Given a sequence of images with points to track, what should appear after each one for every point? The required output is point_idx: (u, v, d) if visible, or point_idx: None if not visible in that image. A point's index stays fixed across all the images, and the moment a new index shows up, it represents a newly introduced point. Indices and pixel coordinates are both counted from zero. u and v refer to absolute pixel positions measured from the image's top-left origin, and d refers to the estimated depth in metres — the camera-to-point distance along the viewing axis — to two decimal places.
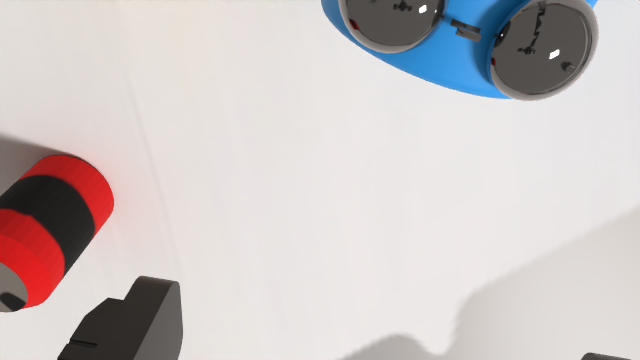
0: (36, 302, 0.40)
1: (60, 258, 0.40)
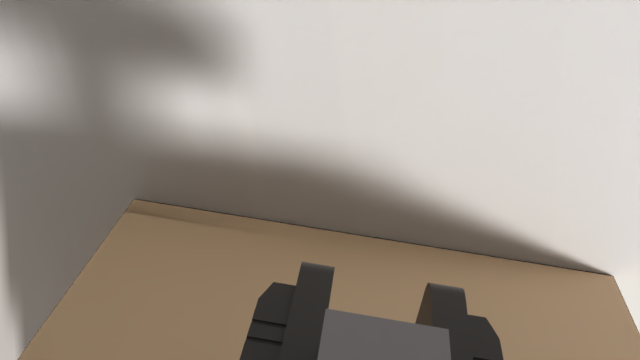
0: None
1: None
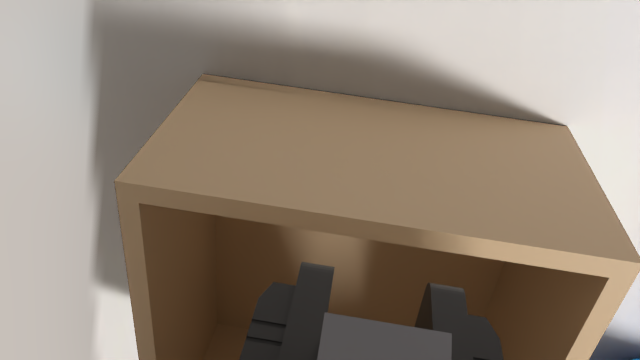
0: None
1: None
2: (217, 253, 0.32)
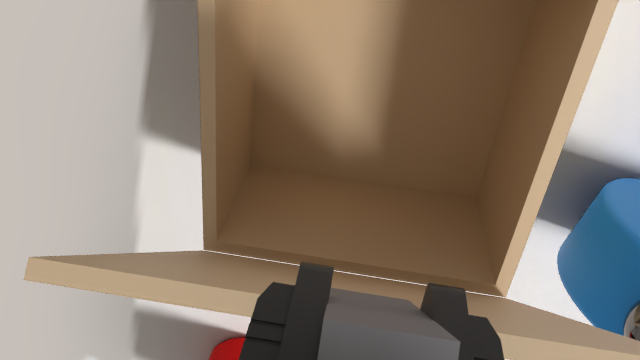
0: None
1: None
2: (256, 86, 0.36)
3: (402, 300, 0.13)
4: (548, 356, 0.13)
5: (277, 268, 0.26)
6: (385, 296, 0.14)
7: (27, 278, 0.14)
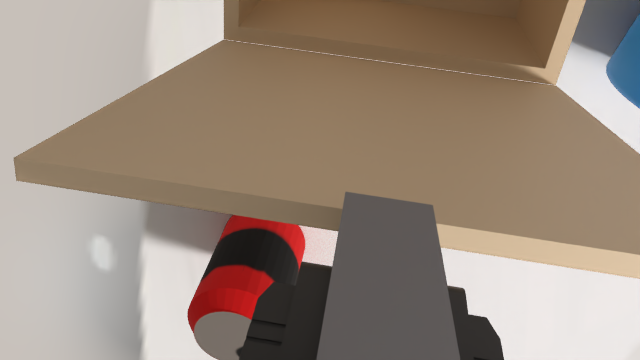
0: None
1: None
2: None
3: (425, 212, 0.12)
4: (583, 261, 0.12)
5: (301, 77, 0.24)
6: (406, 202, 0.12)
7: (19, 178, 0.13)
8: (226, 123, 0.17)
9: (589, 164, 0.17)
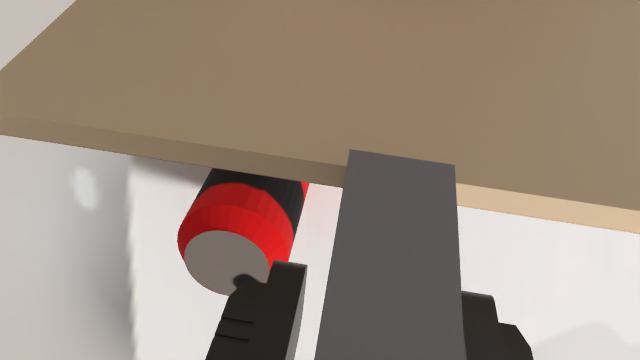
0: None
1: (292, 237, 0.37)
2: None
3: (444, 179, 0.10)
4: (629, 225, 0.10)
5: None
6: (423, 162, 0.10)
7: None
8: (214, 25, 0.14)
9: None
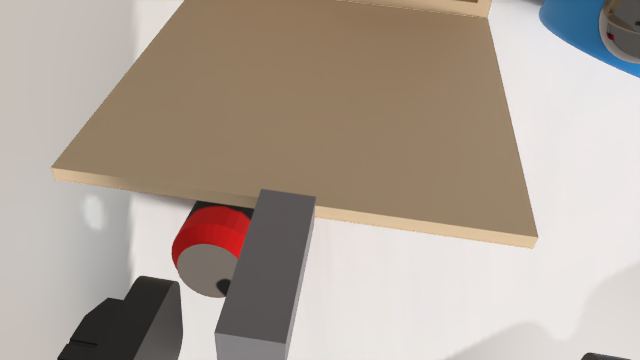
0: None
1: None
2: None
3: (308, 204, 0.19)
4: (412, 227, 0.20)
5: (259, 37, 0.29)
6: (299, 195, 0.19)
7: (56, 178, 0.21)
8: (192, 111, 0.23)
9: (460, 131, 0.24)
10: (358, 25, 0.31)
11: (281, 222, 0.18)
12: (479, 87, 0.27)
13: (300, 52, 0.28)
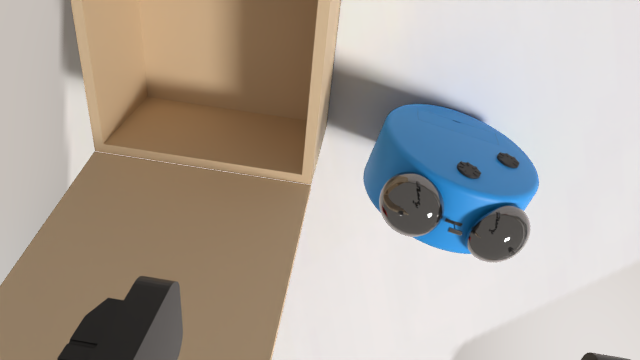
0: None
1: None
2: (142, 33, 0.48)
3: None
4: None
5: (126, 214, 0.40)
6: None
7: None
8: (58, 296, 0.34)
9: (243, 311, 0.34)
10: (206, 197, 0.41)
11: None
12: (274, 264, 0.37)
13: (152, 230, 0.39)
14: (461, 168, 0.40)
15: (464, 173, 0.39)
